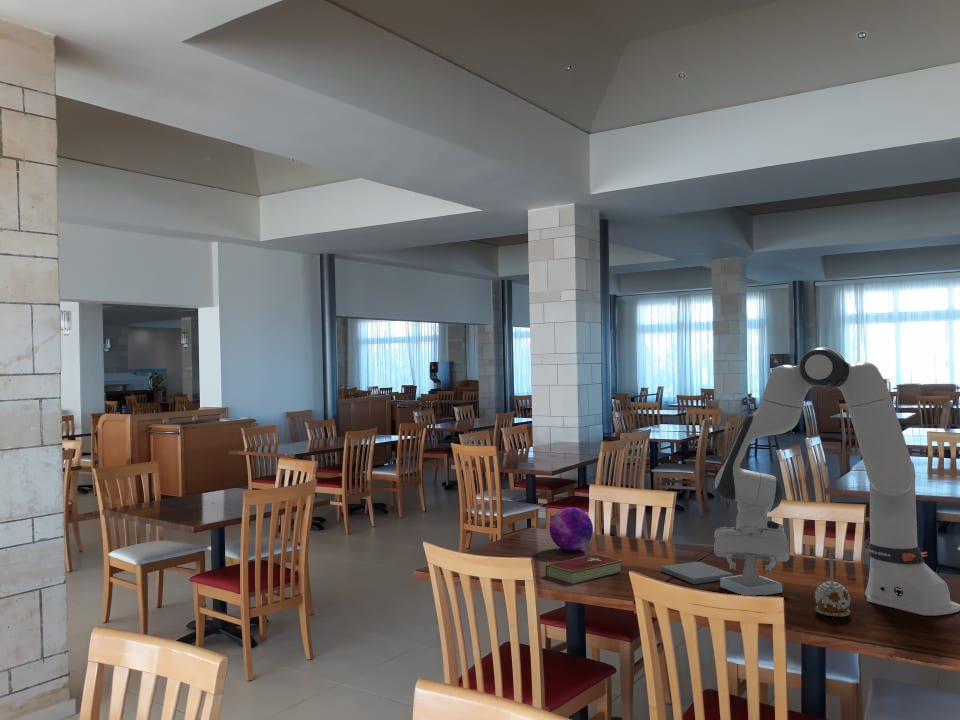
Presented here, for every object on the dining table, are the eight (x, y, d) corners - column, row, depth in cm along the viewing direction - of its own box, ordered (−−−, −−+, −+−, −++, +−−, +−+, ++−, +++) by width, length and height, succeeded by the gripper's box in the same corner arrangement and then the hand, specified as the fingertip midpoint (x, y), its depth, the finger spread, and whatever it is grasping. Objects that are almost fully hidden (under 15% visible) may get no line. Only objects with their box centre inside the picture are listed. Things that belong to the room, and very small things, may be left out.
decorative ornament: (830, 619, 184) (828, 558, 185) (809, 610, 192) (807, 551, 192) (857, 616, 186) (855, 556, 186) (835, 607, 194) (833, 549, 194)
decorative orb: (595, 555, 253) (594, 511, 254) (550, 555, 254) (549, 511, 255) (591, 545, 268) (590, 503, 269) (549, 545, 269) (548, 503, 270)
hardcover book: (545, 577, 230) (545, 563, 230) (594, 565, 242) (594, 552, 242) (572, 585, 220) (572, 571, 220) (622, 573, 232) (622, 559, 232)
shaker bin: (782, 592, 208) (782, 583, 208) (748, 597, 203) (748, 588, 203) (752, 581, 218) (752, 573, 218) (720, 586, 214) (720, 577, 214)
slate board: (733, 578, 222) (732, 573, 222) (693, 584, 217) (693, 579, 217) (698, 566, 237) (698, 561, 237) (661, 571, 232) (661, 566, 232)
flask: (766, 594, 207) (765, 557, 207) (739, 592, 208) (738, 556, 208) (762, 586, 214) (761, 551, 214) (735, 585, 215) (734, 550, 215)
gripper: (713, 520, 222) (710, 561, 213) (788, 524, 214) (788, 567, 204) (715, 532, 226) (712, 573, 217) (789, 537, 218) (789, 580, 208)
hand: (750, 570), depth 210 cm, fingers open, 8 cm apart
